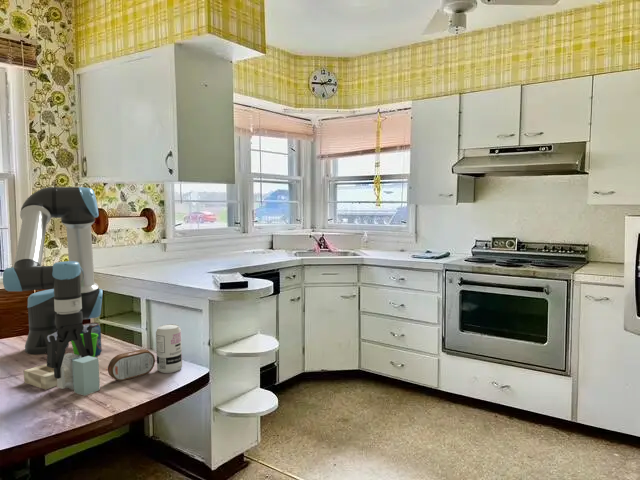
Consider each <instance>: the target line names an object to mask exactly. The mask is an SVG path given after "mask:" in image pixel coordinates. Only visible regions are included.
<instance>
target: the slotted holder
mask: <svg viewBox="0 0 640 480" xmlns="http://www.w3.org/2000/svg"><path fill="white" fill-rule="evenodd" d="M23 378H24V381H23V382H24V383H25V384H28V385H31V386H33V387H37V388H39V389H43V390H49V389H51V388H54V387H57V378H55V377H54V368H50V367H47V363H44V364H41V365H38V366H35V367H32V368H27V369H24V370H23Z"/></svg>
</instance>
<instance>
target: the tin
mask: <svg viewBox="0 0 640 480" xmlns="http://www.w3.org/2000/svg"><path fill="white" fill-rule="evenodd" d="M155 364H156V358H155V355H154V354H153V353H152V352H151V351H150V350H148V349H146V348H145V349H143V348H142V349H141V348H140V349H138V350H134V351H133V350H132V351H128V352H124V353H119V354H117V355H115V356H114V357H112V359H111V360H110V361H109V363H108V366H107V373H108V375H109V377H110V378H112V379H115V381H119V382H120V381H121V382H123V381H126V380H130V379H133V378H137V377H141V376H145V375H148V374H149V373H150V372H151V371H152V370H153V369H154V366H155Z"/></svg>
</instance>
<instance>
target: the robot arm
mask: <svg viewBox="0 0 640 480" xmlns="http://www.w3.org/2000/svg"><path fill="white" fill-rule="evenodd" d="M98 206H99V205H98V201H97V197H96V193H95V191H94V190H93V189H92V188H91V187H83V186H69V187H68V186H66V187H65V186H64V187H63V186H62V187H61V186H58V187H54V186H48V187H44V188H41V189H38V190H37V191H35V192H33V193H32V194H31V195H30V196H28V197H27V198H26V200H25V201H24V202H23V204H22V206H21V208H20V213H19V216H20V219H21V225H20V232H19V236H18V240H17V241H18V242H17V246H16V252H15V258H14V263H13V266H11V267H6V268H5V269H4V270H3V272H2V284H3V288H4V290H5V291H7V292H25V291H37V290H41V291H37V292H34V293H33V292H32V293H31V294H30V295H28V298H27V306H26V308H27V314H28V330H29V331H28V334H27V338H26V342H25V346H24V352H25V353H26V354H31V355H43V354H46V364H47V367H50V368H54V377H55V378H57V386H56V387H57V388H59V389H61V390H63V389H66V388H65V378H64V367H61V365H62V362H63V358H64V354H66V350H67V348H68V347H69V345H70V342H71V341H72V340H73V341H74V343H75V345H76V348H77V350H78V352H79V355H81V358H82V357H86V356H93V355H94V352H93V344H92V337H91V331H92V327H91V326H87V325H85V326H83V320H91V319H97V318H99V317H100V316H101V315H102V314H101V313H102V303H103V292H104V291H103V288H99V284H98V283H96V282H95V274H94V273H95V271H94V255H93V242H92V241H93V238H92V225H93V224H94V223H95V222H96V218H98V217H99V207H98ZM51 219H60V220H61V224H62V225H64V226H65V227H66V228H65V229H66V241H67V242H66V243H67V253H68V254H67V255H68V260H67V261H57V262H54V263H53V264H52V265H42V262H43V255H44V248H45V240H46V239H45V238H46V234H47V233H46V232H47V224H48V223H49V222H50V221H51ZM82 331H83V337H84V344H85V347H84V344H83V342H82V337H81V335H80V334H81V332H82Z"/></svg>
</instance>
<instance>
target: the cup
mask: <svg viewBox="0 0 640 480" xmlns="http://www.w3.org/2000/svg"><path fill="white" fill-rule="evenodd" d="M80 335H81V337H82V342H83V344H84V337H83V334H80ZM98 336H99V335H98V334H96V333H91V337H92V344H93V352H94V355H93V356H92V357H95V352H96V344H97V337H98ZM70 342H71V345H72V346H71V347H72V350H73V354H77V355H79V352H78V350H77V348H76V345H75V343H74V341H73V340H72V341H70ZM84 347H85V344H84Z"/></svg>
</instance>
